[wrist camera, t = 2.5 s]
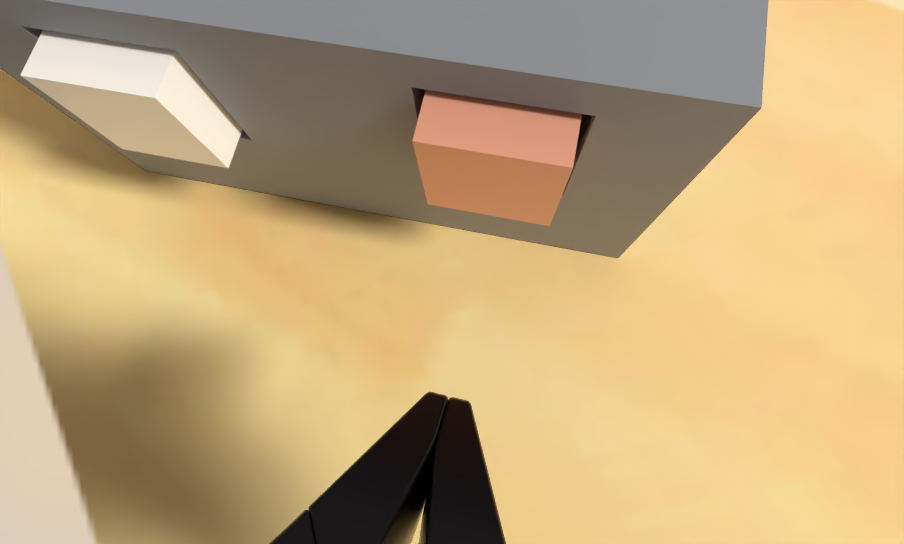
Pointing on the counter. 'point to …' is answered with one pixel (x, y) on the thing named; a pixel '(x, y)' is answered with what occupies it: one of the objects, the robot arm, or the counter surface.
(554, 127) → the terracotta button
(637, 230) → the console
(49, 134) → the counter surface
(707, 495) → the counter surface
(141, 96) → the cream button
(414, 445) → the robot arm
